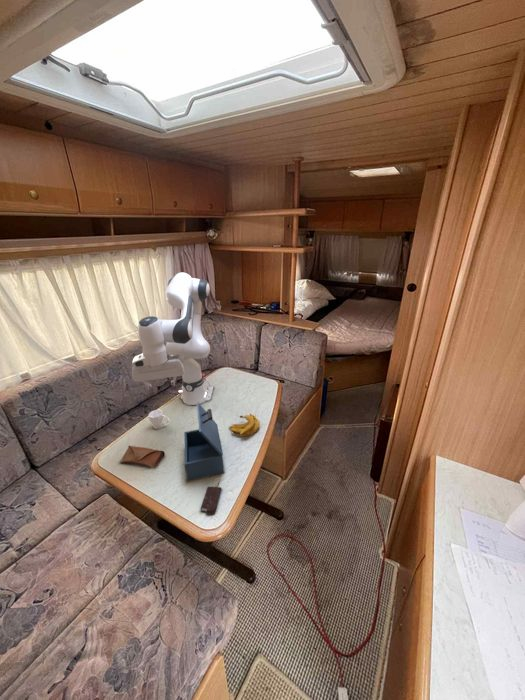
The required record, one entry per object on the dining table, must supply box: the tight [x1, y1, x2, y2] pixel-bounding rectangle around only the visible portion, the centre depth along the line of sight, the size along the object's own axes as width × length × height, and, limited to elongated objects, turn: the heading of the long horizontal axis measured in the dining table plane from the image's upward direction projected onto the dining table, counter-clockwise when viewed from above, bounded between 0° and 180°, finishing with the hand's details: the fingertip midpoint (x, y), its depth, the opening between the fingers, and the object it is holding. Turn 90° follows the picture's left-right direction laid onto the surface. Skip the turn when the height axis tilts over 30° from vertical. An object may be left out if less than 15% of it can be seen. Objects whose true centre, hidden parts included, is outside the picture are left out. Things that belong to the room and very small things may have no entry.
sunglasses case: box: [119, 445, 165, 469], centre depth 122 cm, size 18×7×7 cm, turn 79°
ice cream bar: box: [200, 476, 222, 515], centre depth 104 cm, size 5×2×15 cm
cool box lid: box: [196, 403, 224, 457], centre depth 116 cm, size 16×20×5 cm
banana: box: [229, 413, 261, 437], centre depth 139 cm, size 15×19×6 cm
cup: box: [147, 409, 170, 430], centre depth 141 cm, size 7×10×8 cm
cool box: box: [183, 428, 225, 482], centre depth 120 cm, size 15×20×9 cm
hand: (161, 386), depth 116 cm, fingers open, 8 cm apart
